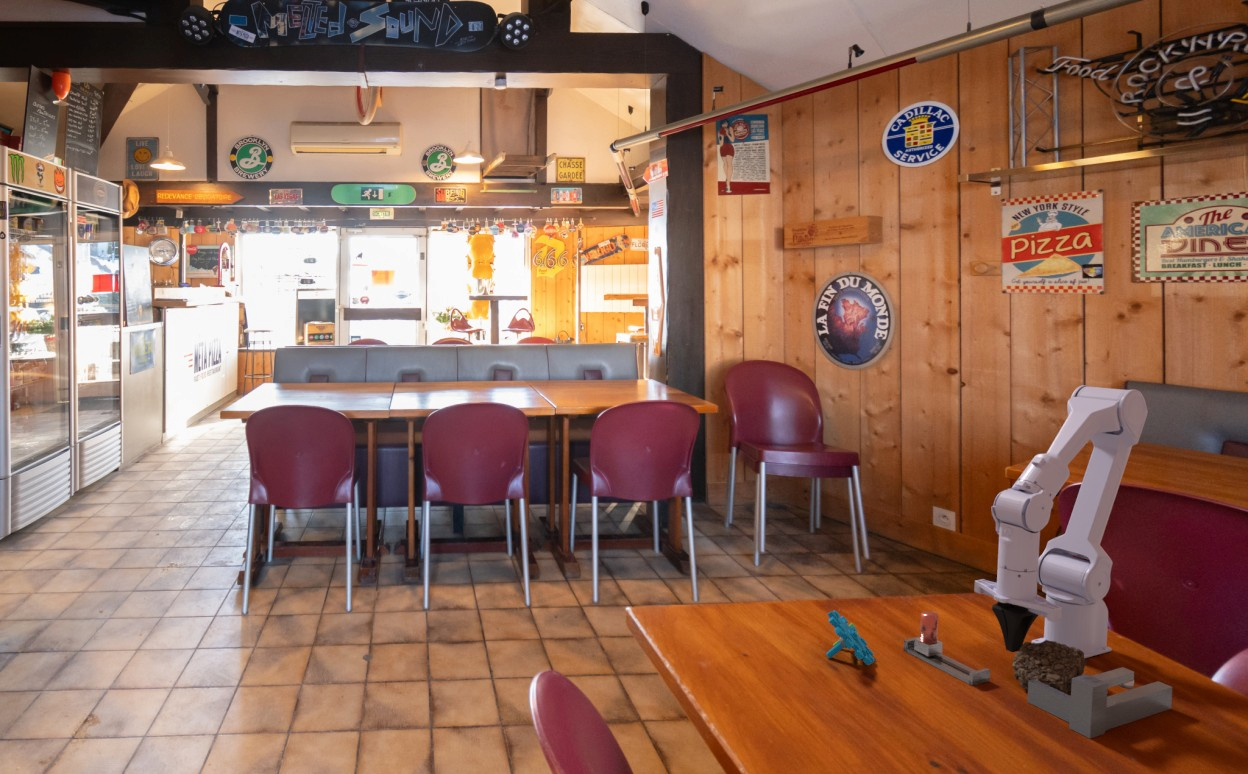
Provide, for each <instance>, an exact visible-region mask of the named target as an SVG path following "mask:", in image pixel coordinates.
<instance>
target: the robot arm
mask: <svg viewBox="0 0 1248 774" xmlns="http://www.w3.org/2000/svg"><path fill="white" fill-rule="evenodd" d="M1066 406H1067V407H1066V408H1067V409H1066V410H1067V418H1066V419H1065V421H1064V422H1063V425H1062V426H1061V428H1060V430H1059V431H1058V432H1057V434H1056V436H1055V438H1054V440H1053V441H1052V443H1051V444H1050V446H1049V448H1048V449H1047V451H1046V453H1045V452H1044V453H1037V454H1036V455H1034V457H1032V459H1031V461H1030V462H1029V463H1028V464H1027V466H1026V467H1025V469H1024V470H1023V472H1021V475H1020V476H1019V477H1018V478H1017V480H1015V482H1014V484H1013V485H1012V487H1011V488H1007V489H1004V490H1002V491H1000V492H999V493H998V494H997V495H996V497H995V498H994V502H993V505H992V506H990V507H991V516H992V518H993V520H994V522H995V532H996V534H997V535H998V549H997V550H998V551H997V553H998V554H997V572H996V574H997V577H996V581H995V582H994V581H990V580H986V579H985V578H982V579H977V580H974V588H973V589H974V593H977V594H979V595H980V594H984V595H986V596H989V597H991V598H993V600H995V601H996V603H995V604H992V605H991V610H992V612H993V613H994V615H995V617H996V620H997V622H998V624H999V626H1000V630H1001V633H1002V637H1003V640H1004V641H1003V642H1004V646H1005V650H1006V651H1008V652H1010V653H1016V652H1018V651H1019V650H1020V648H1021V646H1022V645H1023V644H1024V643H1025V640H1026V639H1025V638H1026V636H1027V634H1028V632H1029V630H1030V628H1031V626H1032V625H1033V623H1034V622H1035V620H1036V619H1037V618H1038V617H1039V616H1041V617H1043V618H1044V630H1043V633H1044V634H1043V637H1040V638H1036V639H1032V640H1031V643H1041V642H1043V641H1045V640H1049V641H1055V642H1057V643H1060V644H1065V645H1066V646H1068V647H1075V648H1076V649H1080V650H1081V651H1082V652H1084V659H1087V658H1091V657H1093V656H1097V655H1102V654H1106V653H1109V652H1112V648H1111V647H1110V646H1107V642H1108V627H1109V626H1108V624H1109V622H1108V621H1109V609H1108V607H1107V605H1106V603H1105V601H1104V598H1105V597H1106V596H1107V594H1108V592H1109V590H1110V586H1111V572H1112V567H1113V560H1112V558H1111V557H1110V556H1109V555H1108V553H1107V552H1106V551H1105V550H1104V548H1103V547H1102V546H1101V542H1102V540H1103V537H1104V534H1105V530H1106V527H1107V525H1108V521H1109V518H1110V515H1111V512H1112V510H1113V506H1114V502H1115V500H1116V497H1117V494H1118V490H1119V488H1120V484H1121V481H1122V478H1123V476H1124V473H1125V471H1126V470H1125V469H1126V466H1127V463H1128V460H1129V458H1130V455H1131V451H1132V449H1133V448H1132V447H1133V446H1135V445H1138V444H1139V441H1140V437H1141V435H1142V432H1143V429H1144V426H1145V423H1146V419H1147V417H1148V413H1149V412H1148V411H1149V410H1148V407H1147V403H1146V399H1145V397H1144V395H1143V394H1142V392H1141V391H1140V390H1138V389H1122V388H1121V389H1120V388H1119V389H1118V388H1109V387H1098V386H1090V385H1085V384H1083V385H1079V386H1077V387H1076V388H1075V390H1074V391H1073V392H1072V394H1071V397H1070V398H1069V399H1068V400H1067V404H1066ZM1089 441H1091V443H1092V445H1093V450H1092V452H1091V455H1090V458H1089V461H1088V464H1087V467H1086V470H1085V473H1084V476H1083V479H1082V482H1081V485H1080V488H1079V491H1078V494H1077V498H1076V499H1075V503H1074V505H1073V509H1072V512H1071V515H1070V518H1069V521H1068V524H1067V527H1066V530H1065V533H1064V534H1062V535H1059V536H1056V537H1054V538H1052V539H1050V540H1048V541H1047V543H1046V547H1045V549H1044V551H1043V552H1042V554H1041V555H1039V554H1040V541H1041V540H1040V539H1041V538H1040V536H1041V531H1042V530H1043V529H1044V528H1045V527H1046V526H1047V525H1048V523H1049V521H1050V517H1051V513H1052V509H1053V507H1054V501H1053V500H1054V499H1055V497H1056V495H1058V493H1059V492H1060V490H1061V489H1062V487H1063V486H1064V485H1065V483H1066V481H1067V480H1068V479H1069V478H1070V475H1071V473H1070V469H1069V466H1068V465H1070V463H1071V462H1072V460H1074V459H1075V457H1076V456H1077V454H1079V452H1080V451H1082V449H1083V448H1084V447H1085V446H1086V444H1087V443H1088V442H1089ZM1074 556H1075V557H1074ZM1085 559H1086V560H1085ZM1038 584H1039V585H1040V586H1042V589H1041V590H1042V591H1041V592H1043V593H1045V594H1046V595H1045V598H1044V597H1042V596H1040V595H1039V594H1038Z"/></svg>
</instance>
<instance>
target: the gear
mask: <svg viewBox="0 0 1248 774" xmlns="http://www.w3.org/2000/svg"><path fill="white" fill-rule="evenodd" d="M826 615H827V617H828V618H829V619H828V623H829V624H830V625H832V627H834V632H835V634H836V636H837V637H839V639H838V640H837V641H836V642H835V643H833V644H832V645H833V647H832V648H831V649H829V650H828V651H827V652H826V656H827V657H828V658H829V659H832V658H833V657H835V656H836V655H837V654H838V653H839V652H840V651H841V650H843V649H848V650H851V649H853V650H854V653H853V655H854V656H855V657H856V658H857V659H858V660H859V661H860V660H862V661H863V663H864V664H865V665H867V666H870V665H872V664H873V663H874V662H876V659H875V658H874V657H873V656H874V652H873V651H872V650H871V649H870V648H869V647H868V643H867V641H866V639H864V637H862V636H860V634H859V631H858V630H857V626H856V625H855V624H854V623H853V622H850V624H849V621H848V619H847V618H846V617H845V616H844V615H842V616H841V615H840V613H839V612H838V611H836V610H831V611H830V612H828V613H827V614H826Z"/></svg>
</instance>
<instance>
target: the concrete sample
mask: <svg viewBox="0 0 1248 774" xmlns="http://www.w3.org/2000/svg"><path fill="white" fill-rule="evenodd" d="M1014 653H1015V655H1014V656H1013V663H1012V665H1011V666H1012V669H1013V673H1014V679H1015V680H1017V681H1019V686H1020V687H1021V688H1022V689H1024V690H1026V691H1028V681H1029V680H1032V679H1035V680H1038V681H1040V682H1042V683H1044V684H1046V685H1048V686H1050V687H1053V688H1055V689H1057V690H1059V691H1061V692H1063V693H1065V694H1068V695H1069V693H1070V692H1071V685H1072V678H1074V677H1078V676H1081V675H1084V672H1085V668H1086V666H1087V663H1088V662H1087V660H1086V658H1084V652H1082V651H1081V650H1080V649H1076V648H1075V647H1068V646H1066V645H1065V644H1060V643H1057V642H1055V641H1049V640H1045V641H1043V642H1041V643H1032V641H1031V642H1030V641H1024V642H1023V645H1022V646H1021V648H1020V650H1019V651H1016V652H1014Z"/></svg>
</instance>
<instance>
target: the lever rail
mask: <svg viewBox="0 0 1248 774" xmlns="http://www.w3.org/2000/svg"><path fill="white" fill-rule="evenodd" d="M916 638H920V636H915V637H911V638H908V639H904V640H903V651H904V652H905V653H907V654H910V655H911V656H914V657H916V658H917V659H919V660H921V661H923V662H925V663H927V664H929V665H931V666H933V667H935V668H937V669H939V670H941V671H942V672H945V673H947V674H948V675H951V676H953V677H955V678H956V679H959V680H960V681H963V682H964V683H966V684H967V685H970V686H976V685H981V684H984V683H988V682H990V679H991V678H990V677H991V669H989V668H987V667H986V668H983V669H978V670H975V669H973V668H971V667H970V666H967V665H965V664H963V663H961V662H959V661H958V660H955V659H954V658H951V657H949V656H947V655H945V654H943V653H941V654H937V655H933V656H926V655H924V654H922V653H920V652H918V651H916V650H914V645H915V639H916Z"/></svg>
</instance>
